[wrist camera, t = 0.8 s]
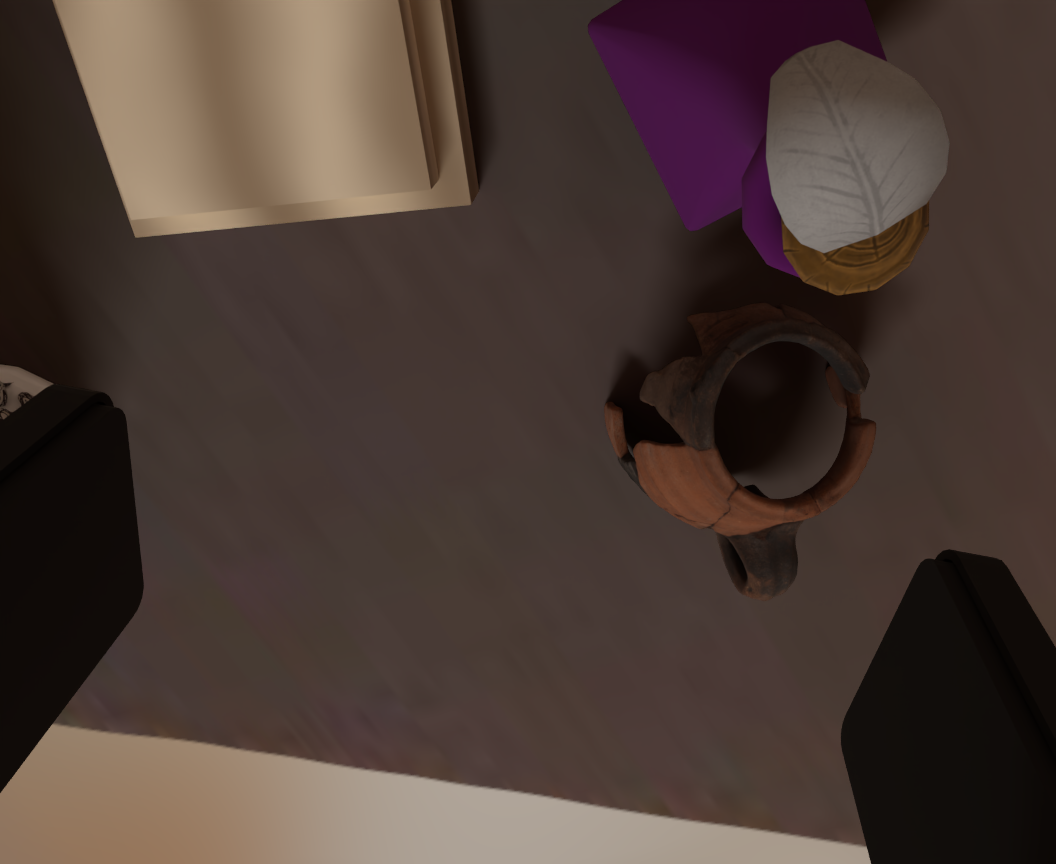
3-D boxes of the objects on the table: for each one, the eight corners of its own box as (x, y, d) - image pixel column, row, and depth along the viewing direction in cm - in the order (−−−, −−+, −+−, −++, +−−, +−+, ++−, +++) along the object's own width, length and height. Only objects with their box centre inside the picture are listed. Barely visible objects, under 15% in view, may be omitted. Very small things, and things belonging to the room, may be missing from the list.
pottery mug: (559, 346, 36) (633, 350, 28) (751, 272, 38) (872, 255, 30) (646, 601, 38) (737, 670, 30) (823, 518, 40) (953, 563, 32)
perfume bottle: (881, 104, 29) (1175, 281, 14) (682, 209, 32) (743, 459, 16) (798, -117, 27) (1053, -207, 11) (587, 16, 29) (550, 98, 13)
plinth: (416, -239, 26) (389, -263, 23) (479, 190, 32) (464, 216, 29) (29, -171, 28) (-44, -186, 25) (159, 222, 34) (115, 250, 31)
